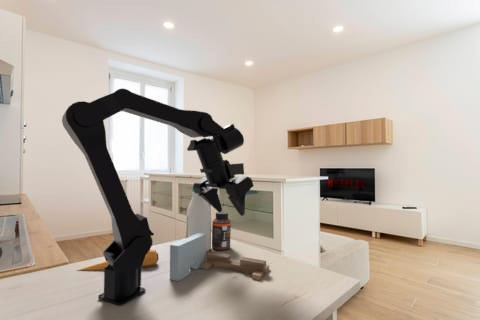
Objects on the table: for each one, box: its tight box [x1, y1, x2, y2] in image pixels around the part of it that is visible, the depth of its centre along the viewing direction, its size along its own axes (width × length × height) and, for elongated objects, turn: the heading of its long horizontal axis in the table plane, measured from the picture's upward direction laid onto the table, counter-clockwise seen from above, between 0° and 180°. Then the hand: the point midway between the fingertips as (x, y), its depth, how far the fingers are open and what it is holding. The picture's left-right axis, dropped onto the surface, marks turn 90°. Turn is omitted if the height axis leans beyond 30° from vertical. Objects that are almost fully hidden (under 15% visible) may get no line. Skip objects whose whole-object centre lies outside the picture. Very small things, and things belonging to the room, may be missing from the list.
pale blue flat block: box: [169, 233, 207, 282], centre depth 65 cm, size 12×2×8 cm, turn 155°
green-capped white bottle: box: [185, 186, 212, 252], centre depth 82 cm, size 8×8×20 cm
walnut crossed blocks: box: [201, 251, 270, 281], centre depth 66 cm, size 7×16×3 cm, turn 65°
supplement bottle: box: [211, 211, 232, 251], centre depth 84 cm, size 6×6×11 cm
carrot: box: [76, 249, 159, 272], centre depth 67 cm, size 20×4×4 cm, turn 104°
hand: (231, 213), depth 71 cm, fingers open, 9 cm apart
